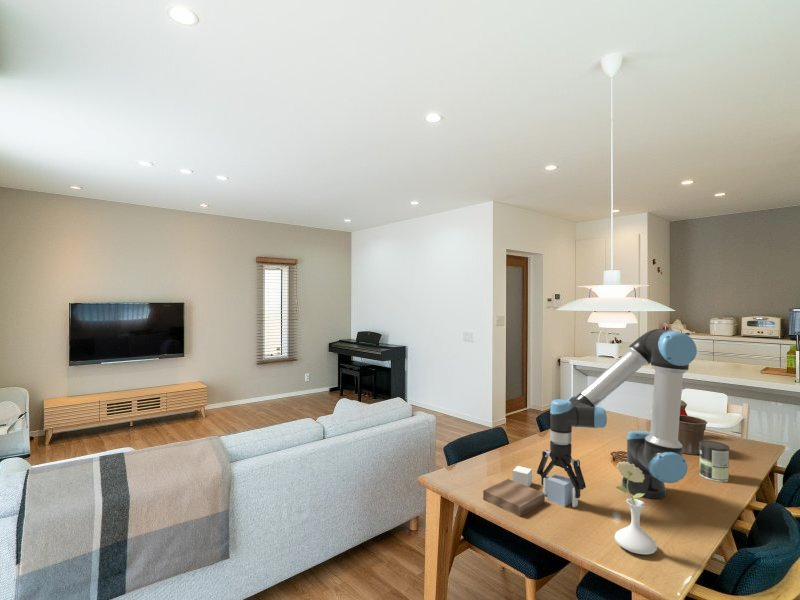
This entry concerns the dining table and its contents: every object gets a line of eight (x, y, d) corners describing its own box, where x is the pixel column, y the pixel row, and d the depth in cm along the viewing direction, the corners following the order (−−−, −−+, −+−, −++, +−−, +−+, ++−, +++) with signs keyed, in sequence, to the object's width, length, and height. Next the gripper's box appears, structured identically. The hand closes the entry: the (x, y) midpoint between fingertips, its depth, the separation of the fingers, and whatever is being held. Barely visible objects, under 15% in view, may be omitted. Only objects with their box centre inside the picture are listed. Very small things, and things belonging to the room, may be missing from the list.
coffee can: (696, 476, 177) (697, 444, 177) (701, 470, 185) (701, 438, 185) (727, 484, 170) (727, 450, 170) (730, 477, 177) (731, 444, 177)
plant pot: (696, 446, 215) (696, 415, 215) (714, 457, 199) (714, 424, 199) (662, 444, 218) (662, 413, 218) (677, 455, 202) (677, 422, 202)
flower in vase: (666, 555, 122) (667, 471, 122) (636, 562, 119) (636, 475, 119) (630, 531, 135) (631, 455, 135) (601, 536, 132) (602, 458, 132)
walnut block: (544, 503, 154) (544, 493, 154) (520, 518, 143) (520, 506, 143) (508, 488, 166) (508, 478, 166) (483, 501, 155) (483, 490, 155)
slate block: (573, 501, 155) (573, 479, 155) (564, 507, 150) (564, 485, 150) (556, 494, 160) (556, 473, 160) (546, 500, 156) (547, 478, 156)
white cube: (531, 483, 170) (531, 469, 170) (527, 489, 165) (527, 474, 165) (517, 479, 173) (517, 465, 173) (512, 485, 168) (512, 470, 168)
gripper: (596, 448, 149) (596, 508, 149) (538, 431, 167) (537, 486, 167) (587, 452, 144) (586, 515, 144) (527, 435, 162) (527, 491, 162)
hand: (560, 499), depth 155 cm, fingers open, 11 cm apart
